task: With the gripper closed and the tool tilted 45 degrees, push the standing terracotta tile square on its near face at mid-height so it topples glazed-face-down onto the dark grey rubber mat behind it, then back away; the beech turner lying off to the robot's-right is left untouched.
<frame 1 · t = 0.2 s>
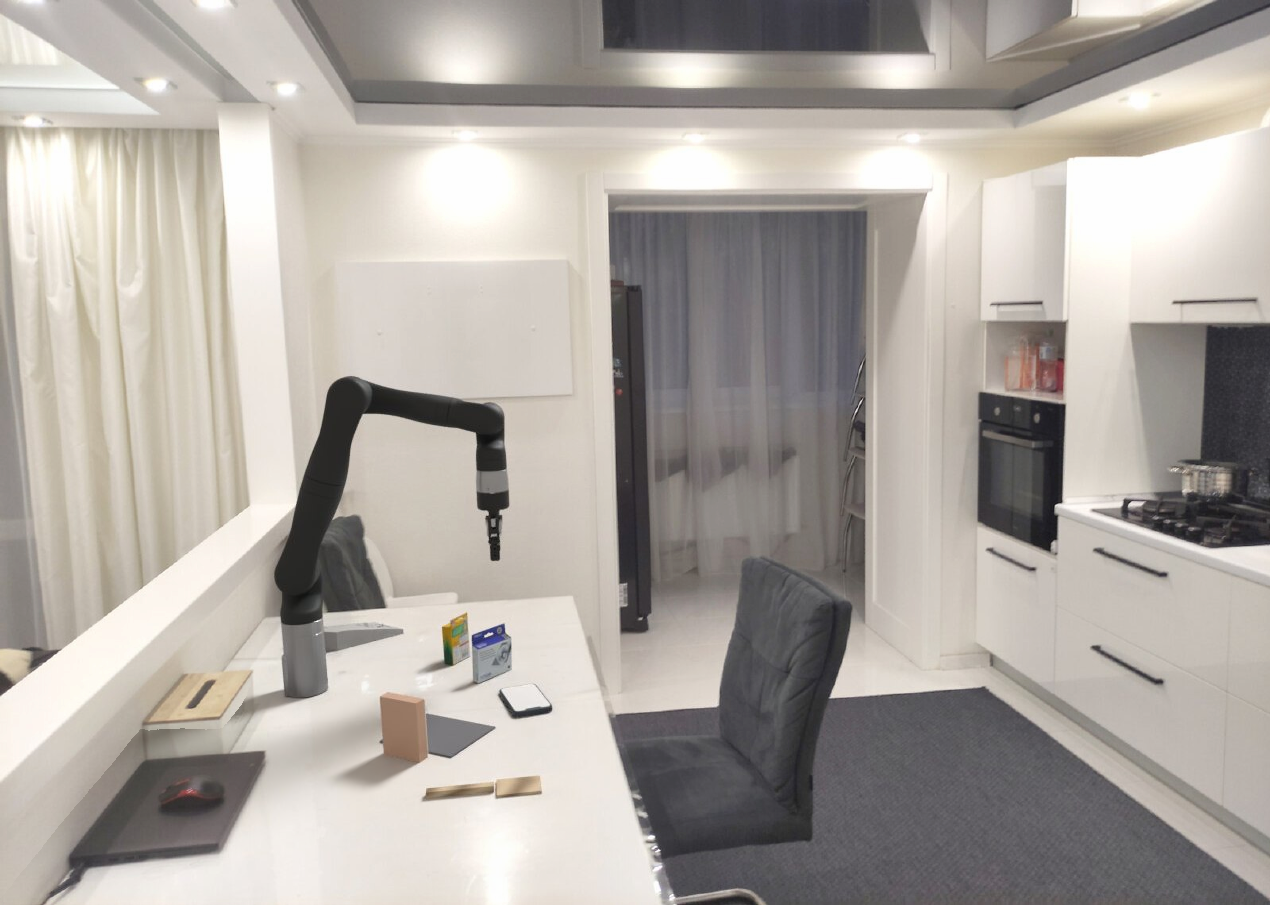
hand: (495, 556, 228), 29 cm above the table, tool pointing down, fingers open, 8 cm apart
ramp: (351, 642, 262), on the table
mat: (438, 735, 199), on the table
turner: (488, 790, 175), on the table
phone case: (525, 704, 216), on the table
ink box: (493, 676, 232), on the table
crayon box: (457, 660, 244), on the table
tile: (406, 755, 191), on the table
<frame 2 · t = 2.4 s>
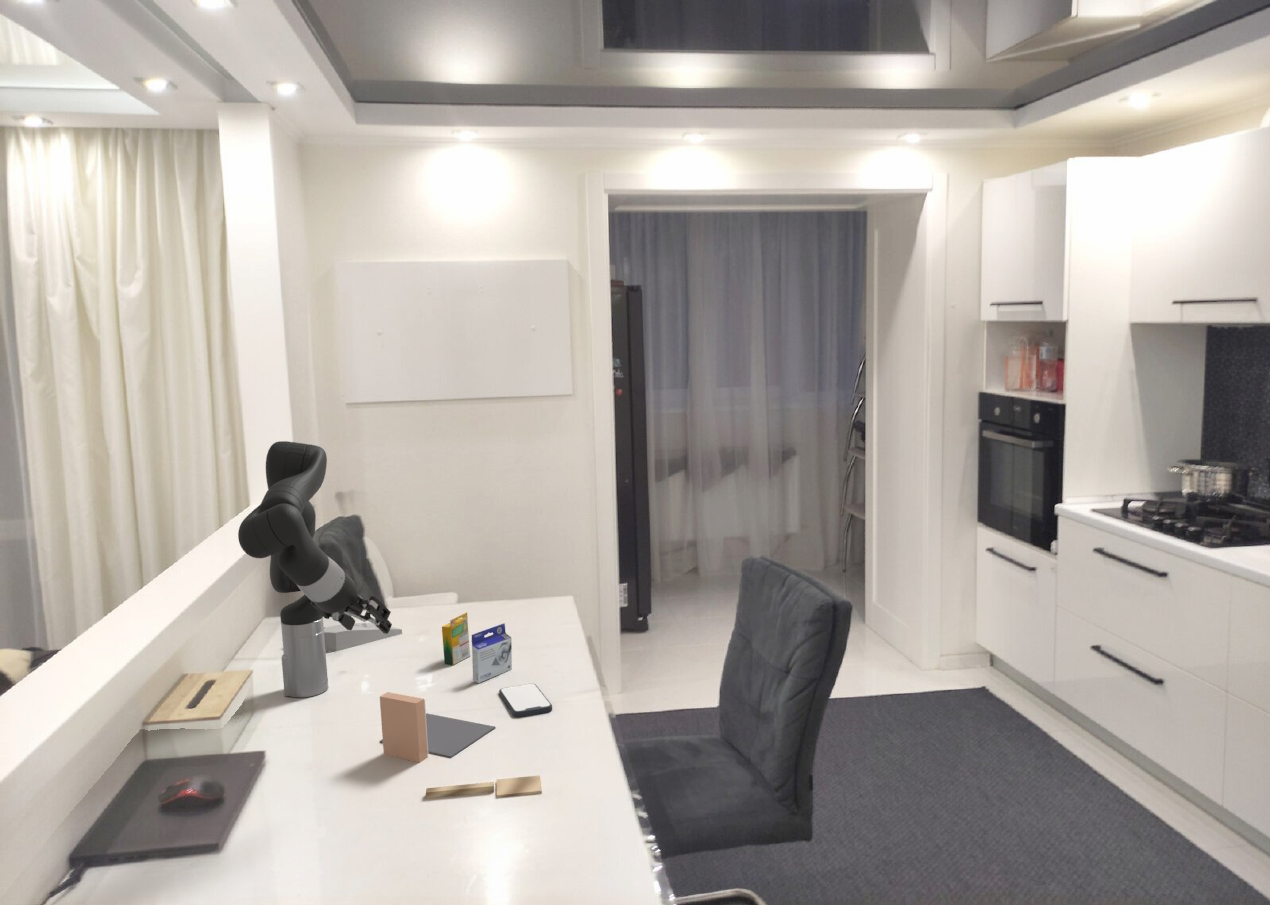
hand: (369, 627, 184), 27 cm above the table, tool tilted 45°, fingers open, 8 cm apart
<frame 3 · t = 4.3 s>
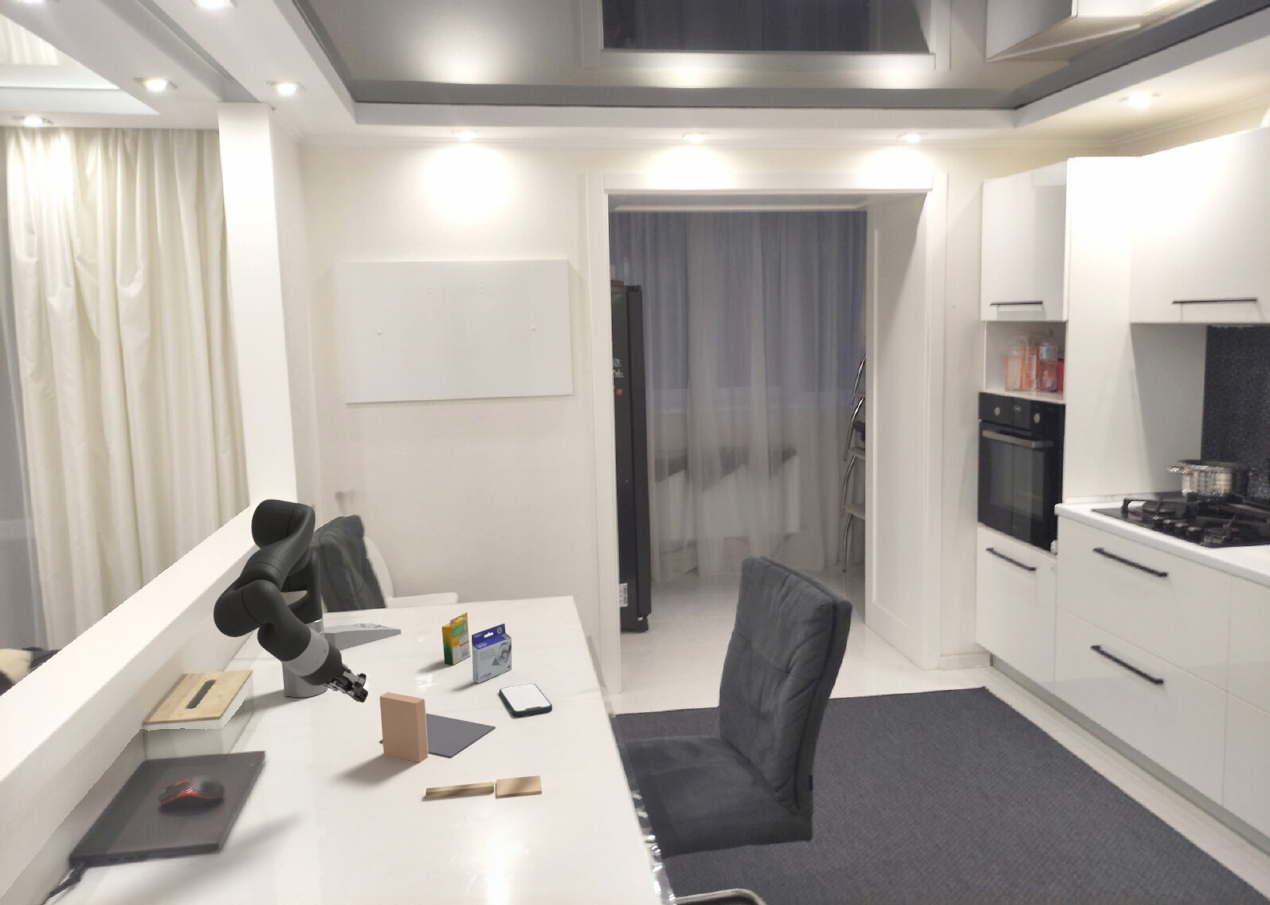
hand: (363, 697, 179), 16 cm above the table, tool tilted 45°, fingers closed
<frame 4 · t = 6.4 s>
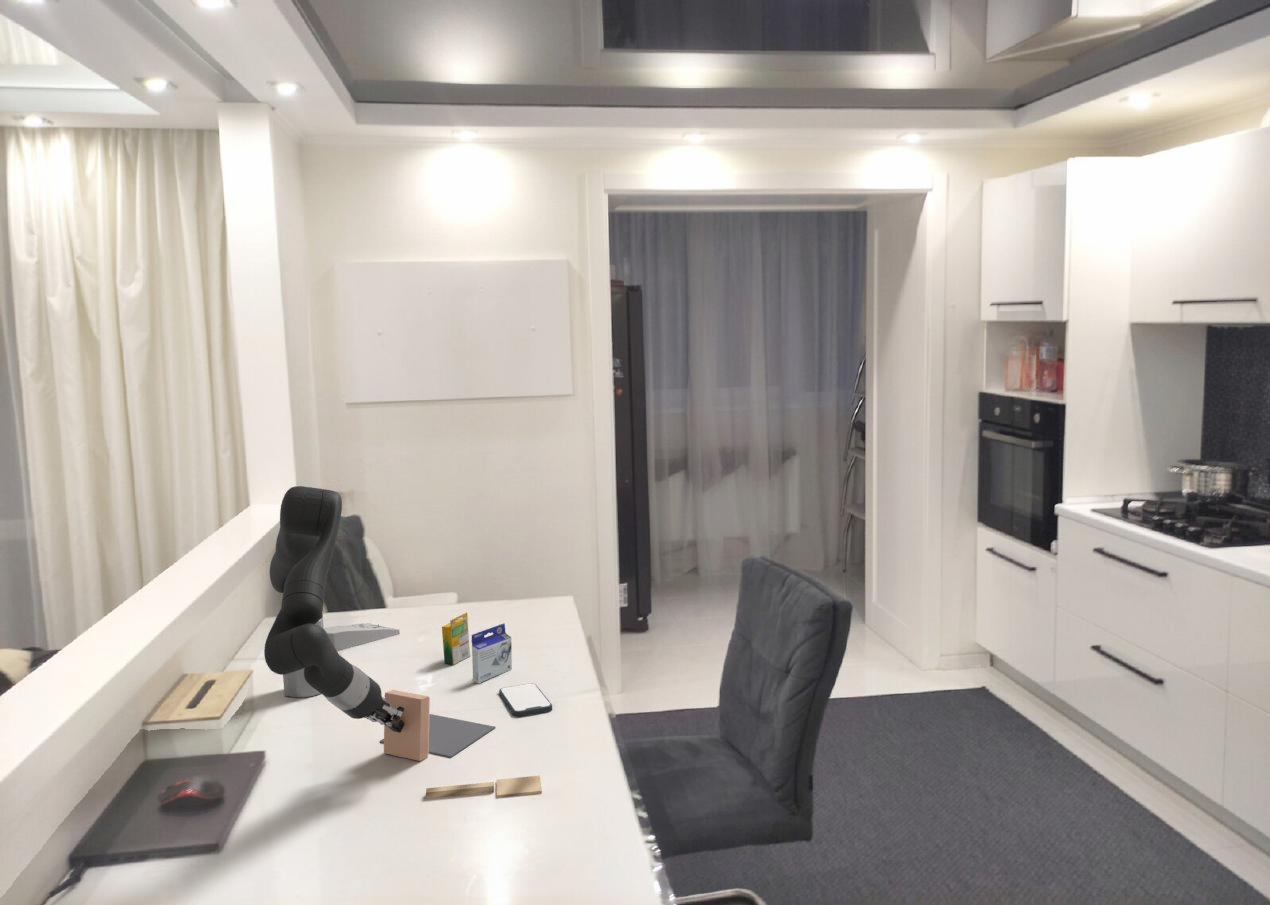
hand: (399, 727, 189), 6 cm above the table, tool tilted 45°, fingers closed
tile: (406, 754, 191), on the table, tilted 7°
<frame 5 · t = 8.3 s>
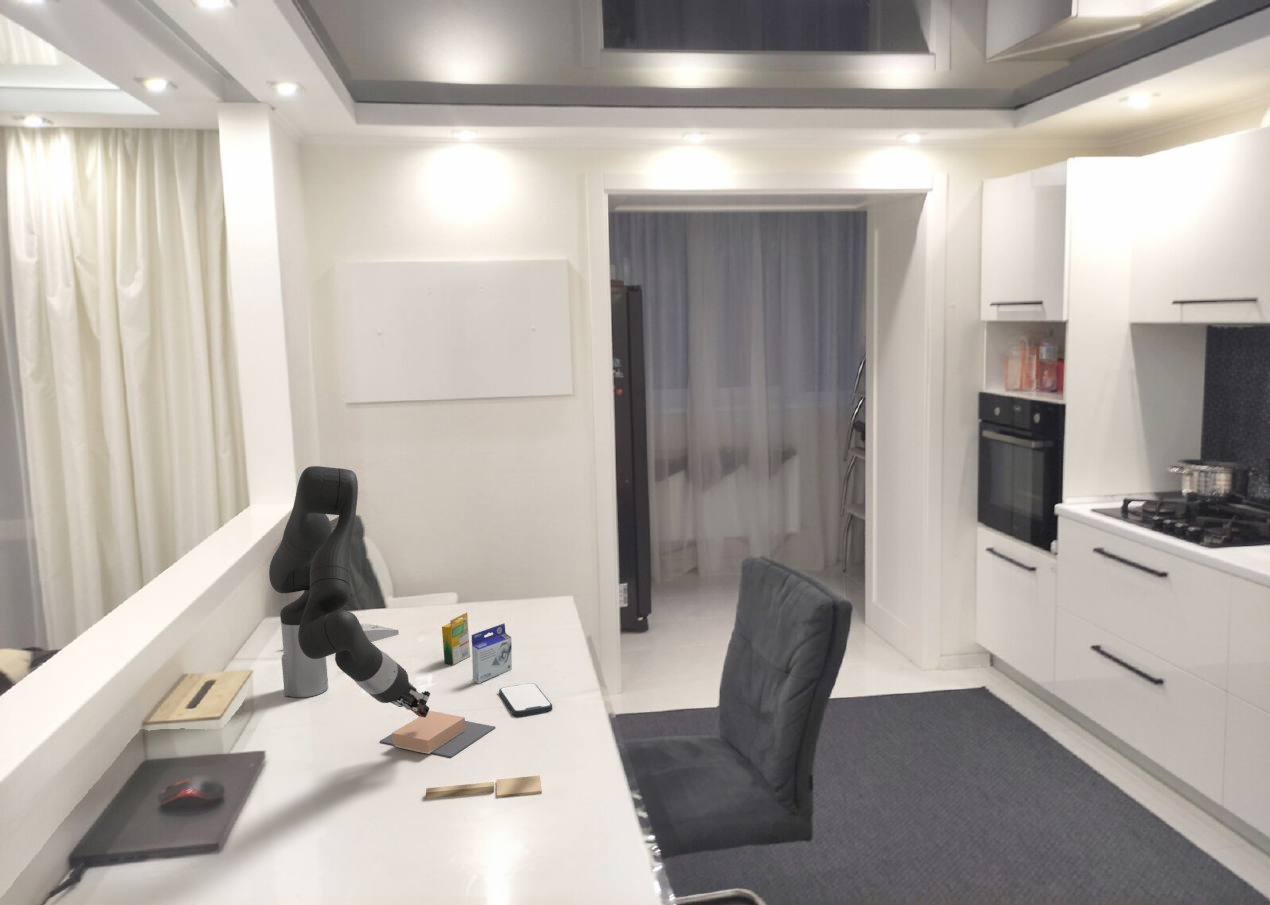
hand: (424, 712, 195), 6 cm above the table, tool tilted 45°, fingers closed
tile: (410, 743, 191), point 2 cm above the table, tilted 90°, touching mat
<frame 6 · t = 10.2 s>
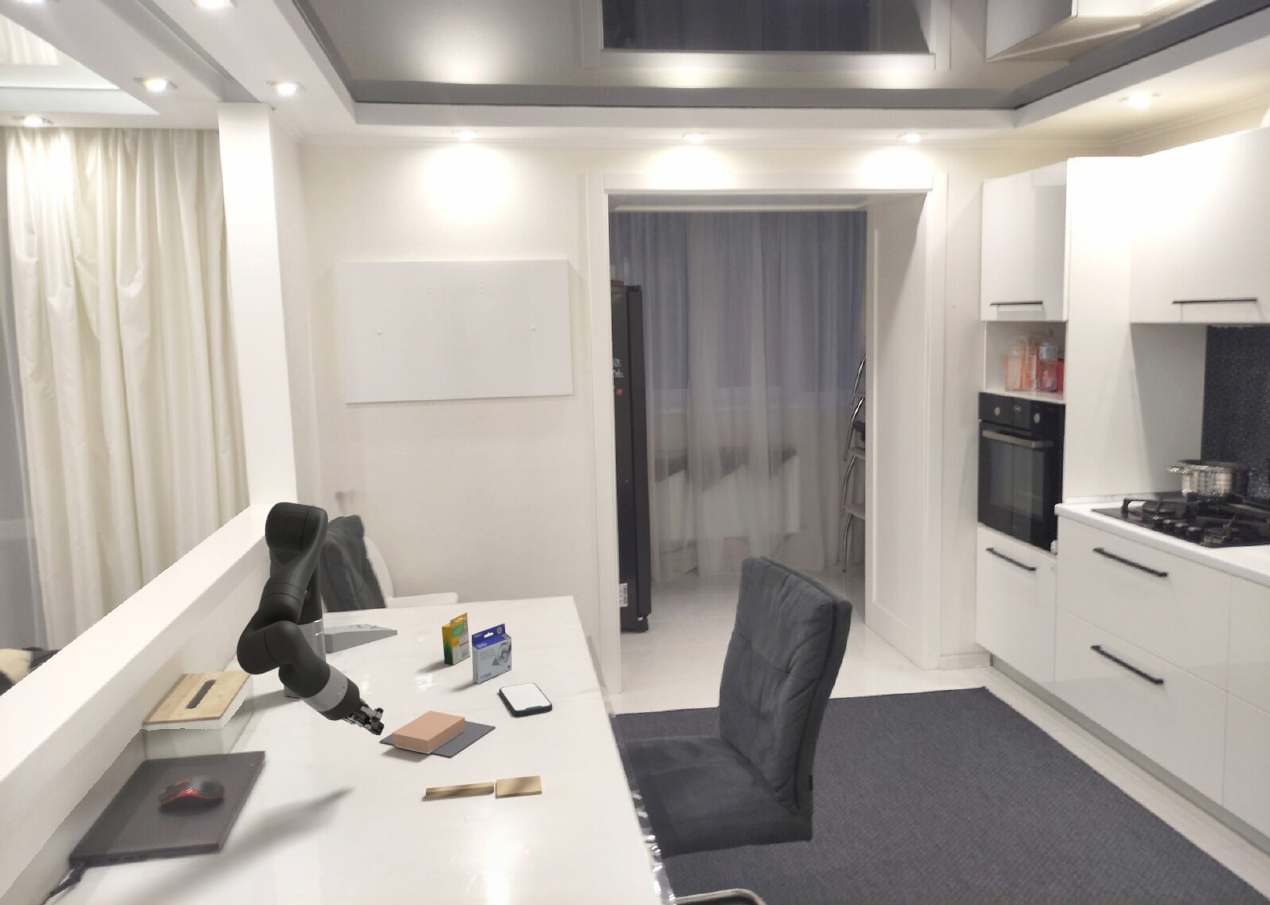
hand: (379, 730, 183), 8 cm above the table, tool tilted 45°, fingers closed
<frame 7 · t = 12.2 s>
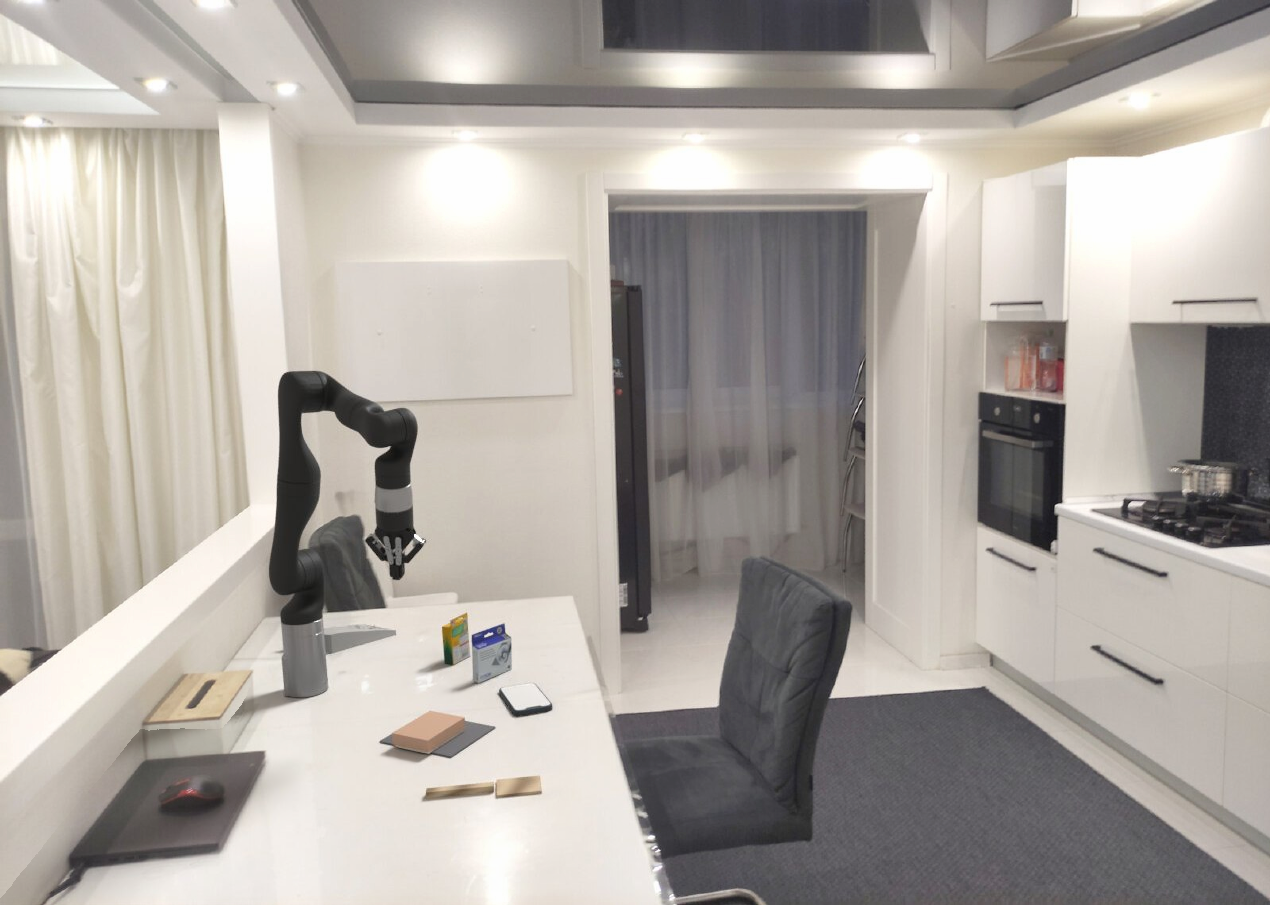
hand: (397, 578, 205), 31 cm above the table, tool pointing down, fingers closed
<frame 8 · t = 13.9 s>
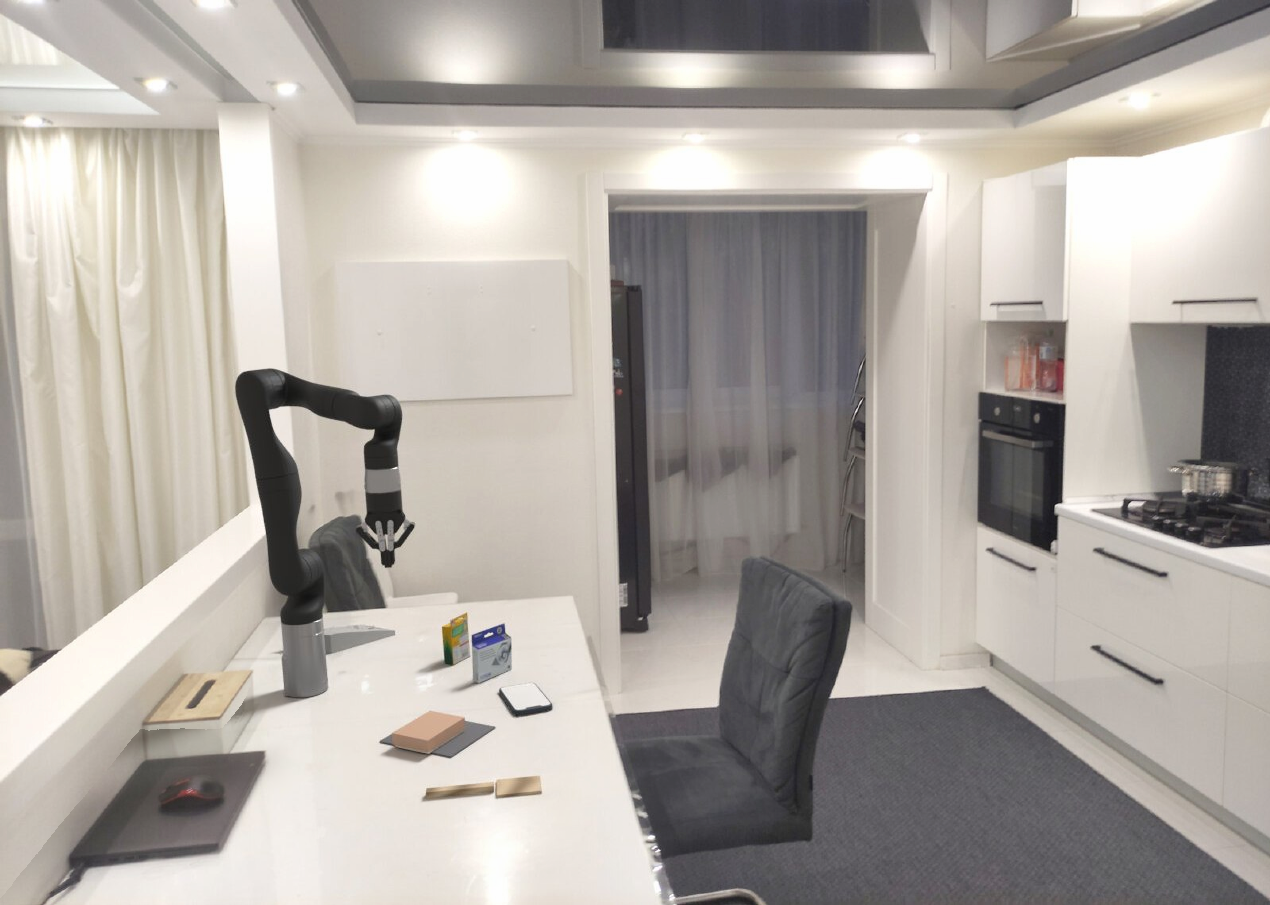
hand: (388, 566, 210), 32 cm above the table, tool pointing down, fingers closed
at the end: tile tilted 90°; tile inside the target area (6.6 cm from its centre), point 1.8 cm above the table; tile touching mat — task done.
